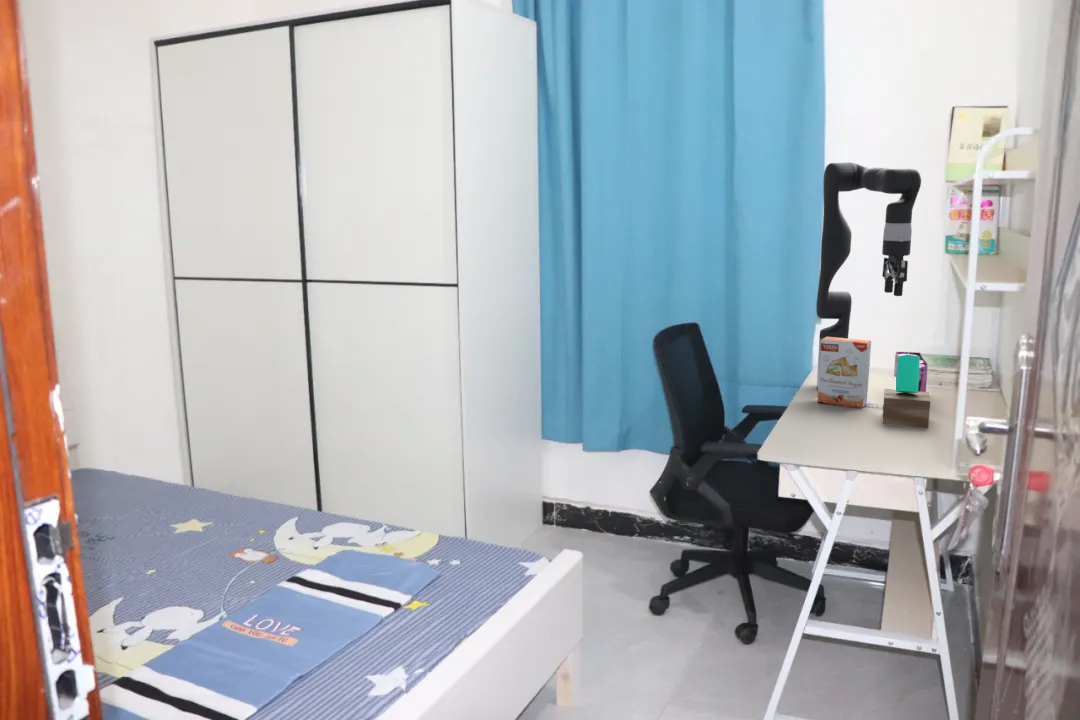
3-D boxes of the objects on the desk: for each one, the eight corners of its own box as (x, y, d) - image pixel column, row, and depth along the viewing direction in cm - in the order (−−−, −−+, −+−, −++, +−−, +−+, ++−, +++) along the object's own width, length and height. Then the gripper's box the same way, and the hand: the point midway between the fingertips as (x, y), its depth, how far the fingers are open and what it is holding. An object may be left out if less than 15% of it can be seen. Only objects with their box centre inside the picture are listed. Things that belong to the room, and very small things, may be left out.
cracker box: (816, 403, 263) (820, 338, 259) (822, 399, 268) (825, 335, 264) (862, 409, 256) (867, 342, 251) (867, 404, 260) (871, 339, 256)
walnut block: (882, 414, 250) (884, 388, 248) (926, 418, 245) (928, 392, 244) (882, 424, 239) (884, 397, 237) (928, 428, 234) (930, 401, 233)
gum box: (926, 409, 255) (929, 366, 252) (898, 407, 257) (901, 364, 254) (917, 392, 277) (920, 352, 274) (892, 390, 279) (895, 351, 277)
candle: (917, 391, 236) (919, 350, 237) (894, 390, 239) (896, 349, 240) (918, 393, 242) (920, 352, 243) (896, 392, 245) (898, 351, 245)
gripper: (876, 237, 248) (872, 291, 251) (891, 240, 234) (887, 297, 238) (902, 237, 248) (898, 291, 251) (919, 240, 234) (914, 297, 237)
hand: (893, 294), depth 244 cm, fingers open, 8 cm apart
